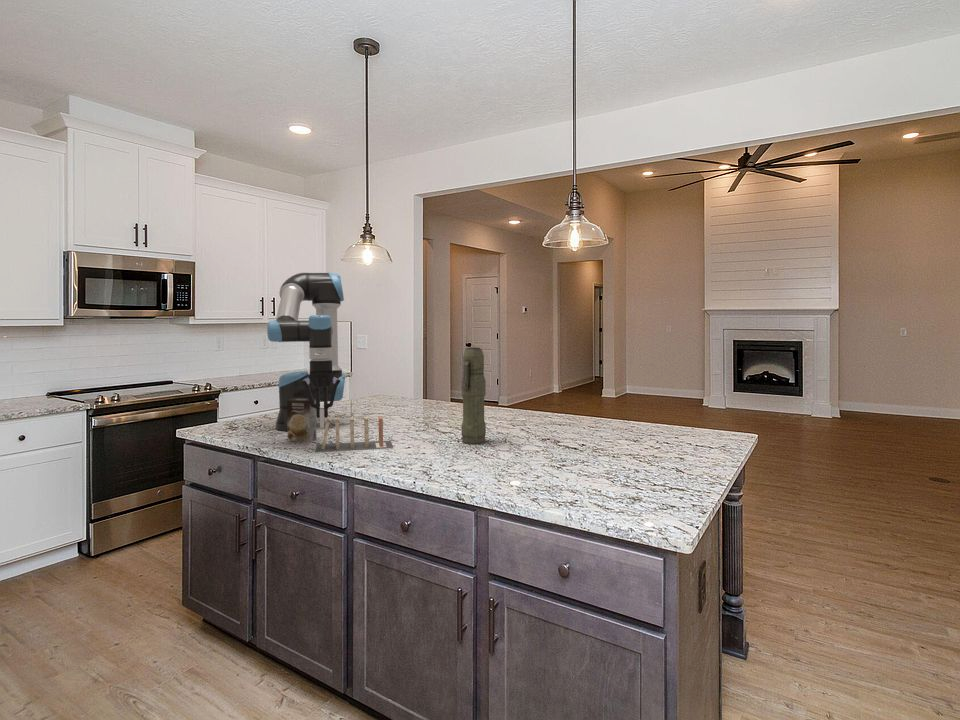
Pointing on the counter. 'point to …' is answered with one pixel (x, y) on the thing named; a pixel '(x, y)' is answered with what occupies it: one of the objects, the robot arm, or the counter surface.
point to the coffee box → (301, 420)
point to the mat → (356, 446)
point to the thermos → (473, 397)
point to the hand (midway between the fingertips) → (322, 427)
